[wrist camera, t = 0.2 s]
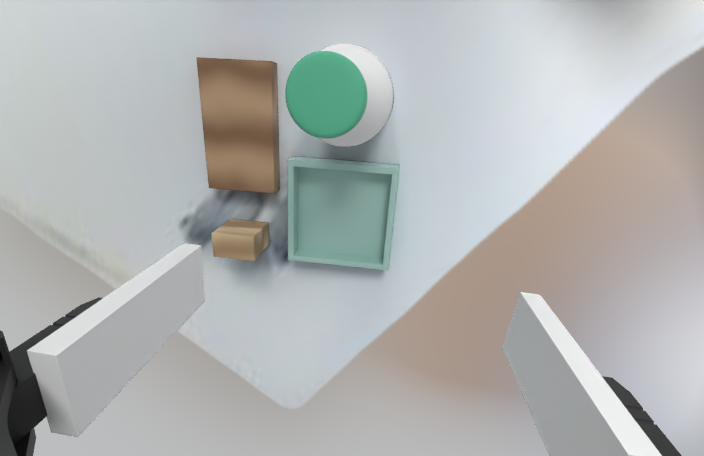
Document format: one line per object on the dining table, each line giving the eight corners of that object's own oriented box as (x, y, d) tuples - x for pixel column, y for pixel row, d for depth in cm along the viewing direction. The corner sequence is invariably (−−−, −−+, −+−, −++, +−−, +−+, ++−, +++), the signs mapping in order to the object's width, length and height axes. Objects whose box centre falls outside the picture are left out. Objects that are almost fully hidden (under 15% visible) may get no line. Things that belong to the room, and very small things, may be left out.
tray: (293, 156, 40) (287, 159, 38) (399, 164, 39) (399, 168, 37) (293, 251, 45) (288, 259, 42) (388, 261, 44) (388, 270, 41)
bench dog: (230, 219, 44) (211, 233, 39) (268, 222, 44) (253, 237, 39) (232, 240, 45) (213, 256, 40) (268, 244, 45) (254, 260, 40)
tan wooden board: (208, 60, 38) (196, 57, 36) (278, 63, 37) (270, 61, 35) (218, 183, 43) (209, 187, 41) (280, 188, 42) (274, 193, 40)
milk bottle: (324, 135, 39) (263, 166, 20) (321, 60, 36) (247, 18, 18) (392, 134, 38) (393, 167, 20) (394, 58, 36) (397, 11, 17)
